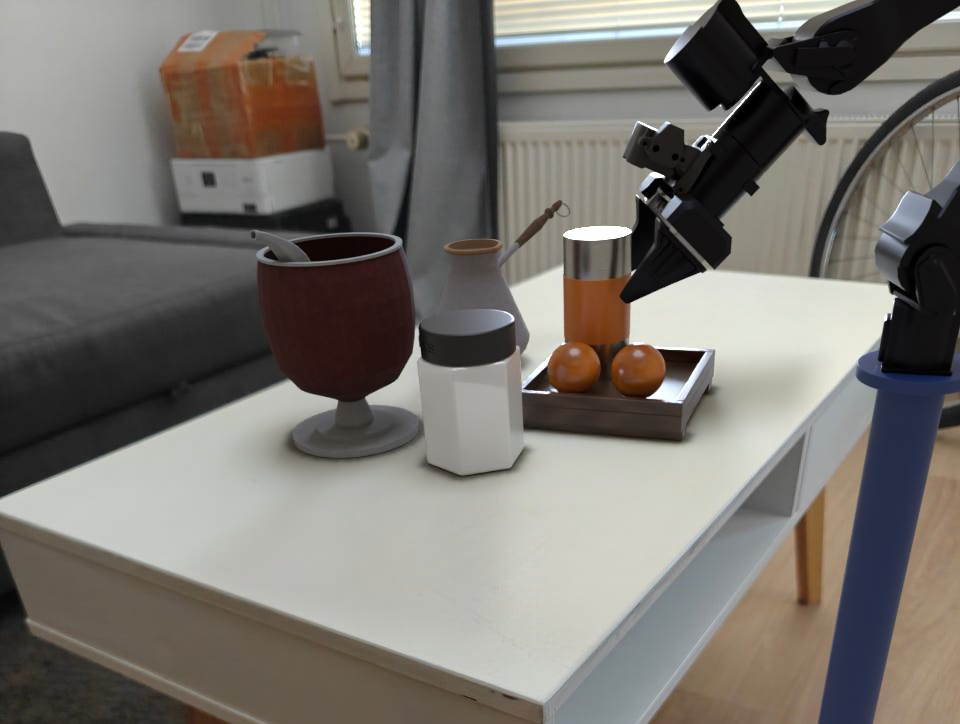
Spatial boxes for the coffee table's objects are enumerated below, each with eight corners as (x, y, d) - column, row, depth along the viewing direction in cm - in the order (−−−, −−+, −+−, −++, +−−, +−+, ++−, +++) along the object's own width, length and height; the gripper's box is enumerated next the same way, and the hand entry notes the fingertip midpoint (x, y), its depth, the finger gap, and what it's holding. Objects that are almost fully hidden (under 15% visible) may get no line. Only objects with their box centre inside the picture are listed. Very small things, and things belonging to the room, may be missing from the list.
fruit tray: (712, 385, 95) (718, 310, 91) (680, 443, 83) (685, 360, 79) (564, 376, 100) (563, 305, 96) (513, 429, 88) (509, 351, 84)
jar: (449, 436, 88) (437, 306, 81) (531, 440, 86) (526, 307, 79) (416, 474, 81) (401, 335, 74) (505, 479, 79) (498, 337, 72)
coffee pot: (483, 386, 99) (473, 237, 91) (410, 369, 106) (395, 228, 98) (603, 337, 112) (604, 201, 103) (531, 324, 118) (526, 196, 110)
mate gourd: (350, 400, 98) (320, 194, 87) (455, 420, 91) (437, 199, 80) (243, 451, 88) (193, 226, 77) (352, 478, 81) (314, 234, 70)
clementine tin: (606, 356, 97) (607, 223, 90) (641, 372, 92) (646, 232, 85) (552, 368, 95) (549, 233, 88) (586, 385, 90) (586, 243, 83)
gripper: (663, 76, 87) (549, 212, 94) (701, 88, 72) (563, 250, 78) (739, 163, 91) (626, 287, 98) (792, 191, 76) (653, 337, 82)
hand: (616, 288), depth 89 cm, fingers open, 9 cm apart
